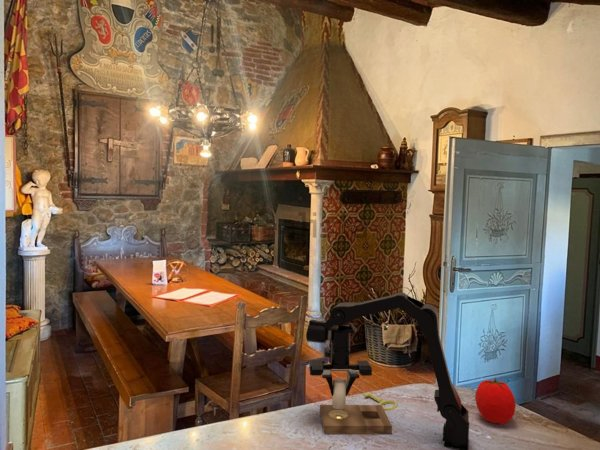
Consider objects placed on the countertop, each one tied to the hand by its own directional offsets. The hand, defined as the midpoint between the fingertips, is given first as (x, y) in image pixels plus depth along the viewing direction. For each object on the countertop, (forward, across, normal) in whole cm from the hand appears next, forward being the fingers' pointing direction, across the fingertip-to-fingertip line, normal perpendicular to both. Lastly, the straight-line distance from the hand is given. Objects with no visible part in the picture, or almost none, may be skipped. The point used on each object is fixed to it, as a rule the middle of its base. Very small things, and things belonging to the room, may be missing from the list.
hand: (339, 395), depth 145 cm
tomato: (+9, -50, -1) cm, 50 cm away
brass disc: (+6, 0, 0) cm, 6 cm away
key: (+9, -16, -14) cm, 24 cm away
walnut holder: (+9, -5, 0) cm, 10 cm away
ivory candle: (+4, 0, 0) cm, 4 cm away
